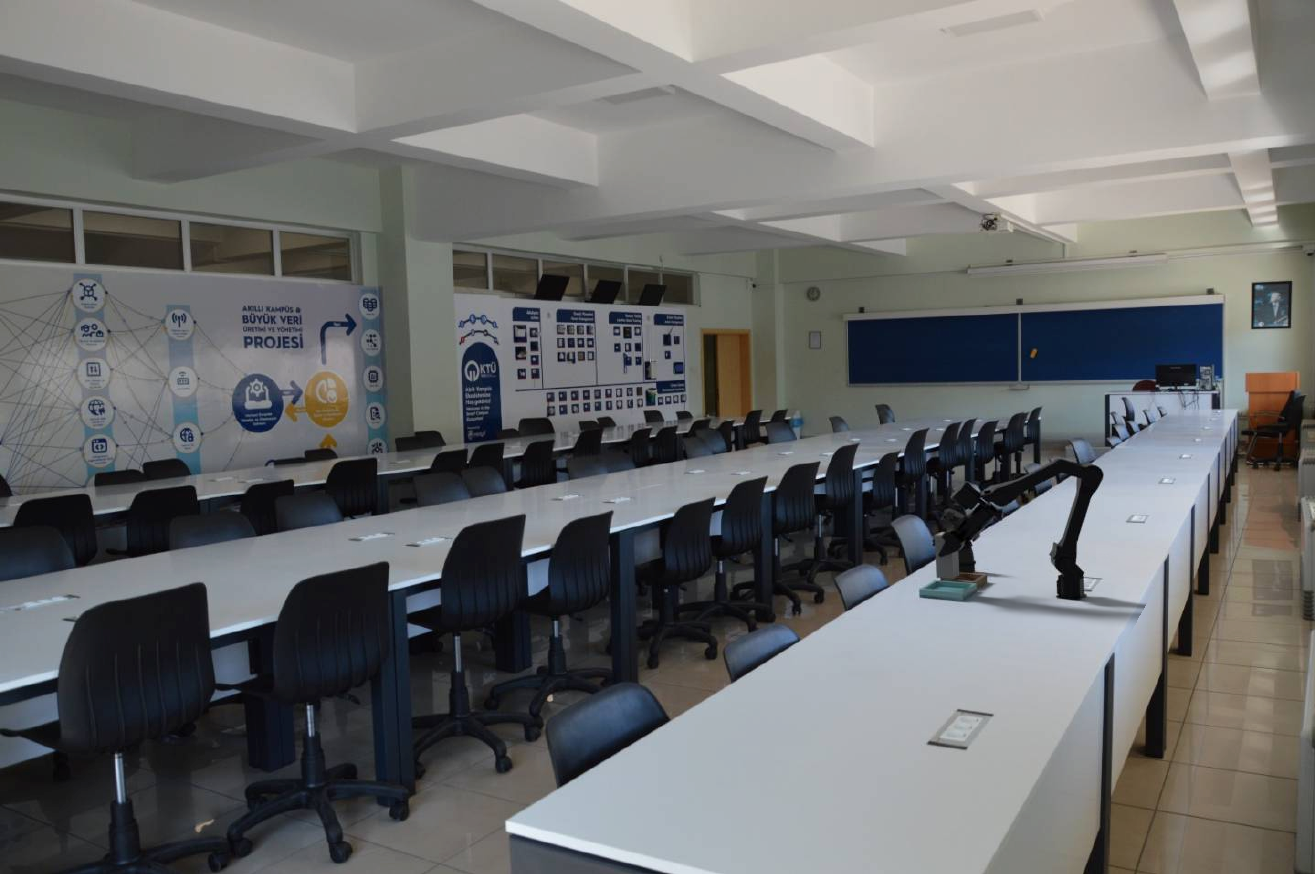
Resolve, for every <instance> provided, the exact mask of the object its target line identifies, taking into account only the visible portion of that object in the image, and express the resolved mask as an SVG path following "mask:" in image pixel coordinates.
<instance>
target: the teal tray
mask: <svg viewBox="0 0 1315 874" xmlns="http://www.w3.org/2000/svg"><path fill="white" fill-rule="evenodd" d="M977 591H978V589H977V583H966V582H953V581H940V579H939V580H938V579H936V580H932V581H930V582H929V583H927V584H926V585H924V586H922V587H921V588H918V592H919V594H918V595H919V598H924V599H936V600H947V601H958V602H964V601H965V600H967V599H968V598H969V597H970V596H972V595H973V594H975V593H976V592H977Z"/></svg>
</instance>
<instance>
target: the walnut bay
mask: <svg viewBox="0 0 1315 874" xmlns="http://www.w3.org/2000/svg"><path fill="white" fill-rule="evenodd" d="M939 580H940V581H953V582H966V583H977V590H979V589H980V588H982V587H983V586H984V585H986V584H987V583H988V574H985V573H984V574H983V573H975V572H974V573H960V572H959V576H957V577H956V578H954V579H946V578H939Z"/></svg>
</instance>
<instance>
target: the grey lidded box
mask: <svg viewBox="0 0 1315 874" xmlns="http://www.w3.org/2000/svg"><path fill="white" fill-rule="evenodd" d="M945 532H946V531H941V532H938V533H936V534H935V535H934V539H935V546H934V549H935V566H936V567H935V568H936V572H935V573H936V579H940V578H946V579H954V578H956V577H957V576H959V559H958V551H956V552H954V553H951V554H949V555H946V556H944V557H941V558H940V557H939V556H938V554H939V552H940V551H941V549H942V547H943V545H944V544H945V540H944V539H943V538H942V535H943V534H944V533H945Z"/></svg>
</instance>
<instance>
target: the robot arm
mask: <svg viewBox="0 0 1315 874" xmlns="http://www.w3.org/2000/svg"><path fill="white" fill-rule="evenodd" d="M1060 474H1064V475H1068V476H1072V477H1075V478H1076V480H1075V481H1076V484H1075V485H1076V489H1075V490H1076V492H1075V496H1074V499H1073V503H1072V505H1071V508H1070V510H1069V511H1070V512H1069V515H1068V518H1067V522H1066V523H1065V527H1064V532H1063V533H1062V537H1061V539H1060V540H1059V542H1058V543H1057V542H1055V541H1053V542H1052V548H1051V551H1050V552H1049V553H1048V555H1049V557H1050V563H1051V564H1052V565H1053V567H1054V568H1055V570H1057V571H1058V572H1059V573H1060V574H1059V575H1057V580H1056V594H1057V595H1055V598H1058V599H1065V600H1074V601H1079V600H1081V599H1083V598H1086V597H1087V595H1088V594H1086V593H1085V577H1084V576H1085V571H1084V570H1083V569H1082V568H1081V567H1080V566H1079V565H1078V564H1077V555H1078V541H1079V538H1080V535H1081V532H1082V529H1083V525H1084V523H1085V519H1086V517H1087V513H1088V509H1089V506H1090V504H1091V503H1090V502H1091V500H1092V497H1093V496H1094V494H1095V493H1096V492H1097V491H1098V489H1099V487H1100V485H1101V484H1102V482H1103V480H1104V471H1103V469H1102V468H1101V467H1100V466H1099V465H1095V464H1093V462H1092V463H1091V462H1086V463H1082V464H1081V463H1079V462H1074V461H1069V460H1067V459H1063V458H1060V457H1058V458H1054V459H1053V460H1052V461H1050V462H1049V463H1047V464H1044V465H1042V466H1041V467H1039V468H1036V469H1035V470H1033V471H1031V472H1029V473H1027V474H1024V475H1022V476H1021V477H1019V478H1017V479H1013V480H1010V481H1004V482H1002V483H999V484H995V485H994V486H992V487H991V488H990V489H987V490H982V491H979V490H977V489H976V488H974V487H973V485H971V484H970V482H969V481H967V480H966V481H965V482H963V483H962V484H961V485H960V486H959V487H957V488H956V489H955V490H954V491H953V492H952V494H951V496H950V499H951V500H952V501H954V502H955V503H956V504H957V505H959V506H960V507H961V508H962V509H963V510H965V511H967V510H970V513H968V514H967V515H964V514H962V512H958V511H957V510H954V509H952V508H951V507H950V508H946V509H944V510H943V513H941V518H940V520H941V521H943V522H946V523H948V524H951V525H952V526H953V527H952V528H953V529H948V530H946V531H944V532H945V533H944V534H943V535H942V538H943V539H944V540H945V544H944V545H943V547H942V549H941V551H940V552H939V554H938V556H939V557H940V558H941V557H944V556H946V555H949V554H951V553H954V552H956V551H959V550H961V548H963V547H965V546H967V545H970V544H971V543H974V542H976V541H977V540H978V539H979V538H980V537H981V535H980V534H981V533H980V532H981V531H983V530H984V529H985V528H986V526H988V525H989V523H991V521H993V520H994V518H996V519H997V520H999V521H1000V522H1001V521H1003V518H1004V514H1003V513H1004V509H1002V508H1003V507H1007V506H1008V505H1009V504H1011V503H1012V502H1014V501H1015V500H1017V499H1018V498H1019V497H1020V496H1021V495H1022V494H1024V493H1025V492H1026V491H1028V490H1031V489H1033V488H1034V487H1036V486H1038V485H1040V484H1042V483H1044V482H1046V481H1048V480H1050V479H1052V478H1054V477H1056V476H1058V475H1060ZM997 507H1000V508H1001V507H1002V508H1001V509H1000V508H997Z"/></svg>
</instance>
